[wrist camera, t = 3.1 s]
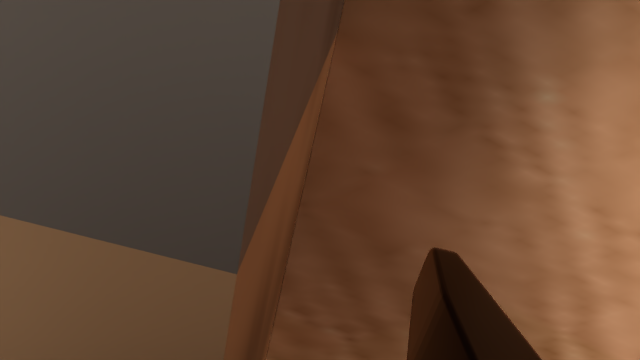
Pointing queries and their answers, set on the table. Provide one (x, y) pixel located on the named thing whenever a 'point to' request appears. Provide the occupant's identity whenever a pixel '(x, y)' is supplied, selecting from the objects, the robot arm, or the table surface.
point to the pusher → (153, 172)
